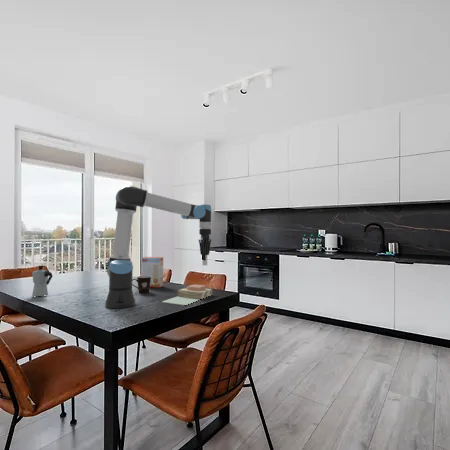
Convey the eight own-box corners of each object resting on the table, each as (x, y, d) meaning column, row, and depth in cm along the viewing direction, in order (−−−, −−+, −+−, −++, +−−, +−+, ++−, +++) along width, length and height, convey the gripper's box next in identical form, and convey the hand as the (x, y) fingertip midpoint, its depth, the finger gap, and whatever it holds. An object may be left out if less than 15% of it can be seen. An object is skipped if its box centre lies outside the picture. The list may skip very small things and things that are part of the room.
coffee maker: (25, 296, 177) (25, 265, 177) (38, 293, 185) (39, 264, 186) (44, 298, 173) (45, 267, 173) (57, 295, 181) (58, 265, 181)
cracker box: (163, 286, 214) (163, 257, 214) (159, 287, 208) (159, 257, 209) (145, 285, 218) (146, 256, 218) (141, 286, 212) (141, 257, 212)
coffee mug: (152, 291, 197) (152, 275, 197) (148, 294, 188) (148, 277, 188) (135, 290, 198) (135, 275, 198) (130, 293, 189) (130, 277, 189)
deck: (200, 299, 174) (200, 292, 174) (177, 296, 181) (177, 290, 181) (212, 295, 186) (212, 288, 186) (190, 292, 193) (190, 286, 193)
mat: (185, 305, 160) (185, 305, 160) (161, 302, 167) (161, 301, 167) (200, 300, 173) (200, 299, 173) (177, 297, 180) (177, 296, 180)
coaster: (198, 291, 179) (198, 287, 179) (187, 289, 182) (187, 286, 183) (205, 288, 186) (205, 285, 186) (194, 287, 190) (194, 284, 190)
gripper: (205, 228, 187) (204, 266, 186) (215, 228, 198) (214, 264, 198) (194, 228, 190) (194, 265, 189) (205, 228, 202) (204, 263, 201)
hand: (204, 265), depth 194 cm, fingers closed
